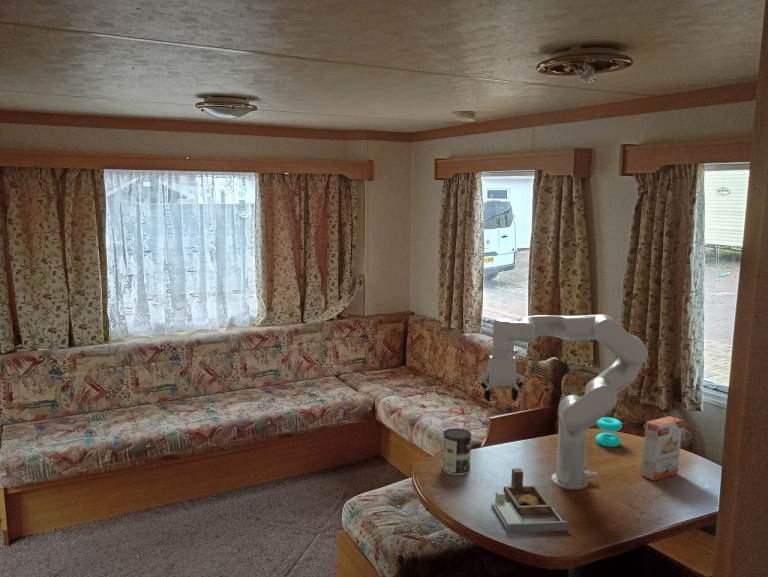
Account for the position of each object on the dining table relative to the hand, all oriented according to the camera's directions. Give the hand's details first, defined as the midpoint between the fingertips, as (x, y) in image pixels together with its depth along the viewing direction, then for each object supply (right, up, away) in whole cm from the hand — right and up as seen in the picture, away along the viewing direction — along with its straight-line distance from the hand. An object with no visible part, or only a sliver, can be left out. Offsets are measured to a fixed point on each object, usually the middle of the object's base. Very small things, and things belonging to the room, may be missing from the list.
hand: (500, 400), depth 228 cm
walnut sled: (+5, -31, -16) cm, 35 cm away
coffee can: (-15, -27, +8) cm, 32 cm away
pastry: (+5, -32, -19) cm, 38 cm away
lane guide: (+3, -33, -28) cm, 43 cm away
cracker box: (+60, -29, +6) cm, 67 cm away
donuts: (+51, -25, +36) cm, 67 cm away
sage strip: (-3, -32, -27) cm, 42 cm away
